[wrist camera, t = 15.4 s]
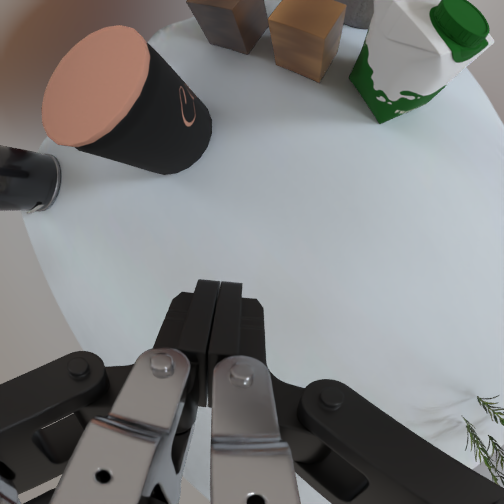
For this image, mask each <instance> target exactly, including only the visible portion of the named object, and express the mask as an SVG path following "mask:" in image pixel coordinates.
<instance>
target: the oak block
mask: <svg viewBox="0 0 504 504" xmlns="http://www.w3.org/2000/svg"><path fill="white" fill-rule="evenodd" d="M345 12H346V5H345V4H342V3H340V2H337V1H334V0H282V1H281V3H280V4H279V5H278V6H277V8H276V9H275V10H274V11H273V13H272V14H271V15H270V17H269V18H268V24H269V29H270V34H271V40H272V45H273V51H274V56H275V62H276V65H278V66H280V67H283V68H285V69H288V70H290V71H293V72H295V73H298V74H300V75H302V76H305V77H307V78H309V79H312V80H314V81H316V82H318V83H320V81H321V79H322V78H323V76H324V74H325V73H326V71H327V69H328V67H329V66H330V64H331V62H332V60H333V59H334V57H335V55H336V54H337V52H338V48H339V43H340V38H341V33H342V28H343V22H344V17H345Z"/></svg>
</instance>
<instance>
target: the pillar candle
mask: <svg viewBox="0 0 504 504" xmlns="http://www.w3.org/2000/svg"><path fill="white" fill-rule="evenodd" d="M334 1H337V2H340V3H342V4H345V5H346V12H345V17H344V22H343V23H345V24H347V25H349V26H352V27H356V28H362V29H369V26H370V23H371V20H372V17H373V14H374V0H334Z"/></svg>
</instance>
